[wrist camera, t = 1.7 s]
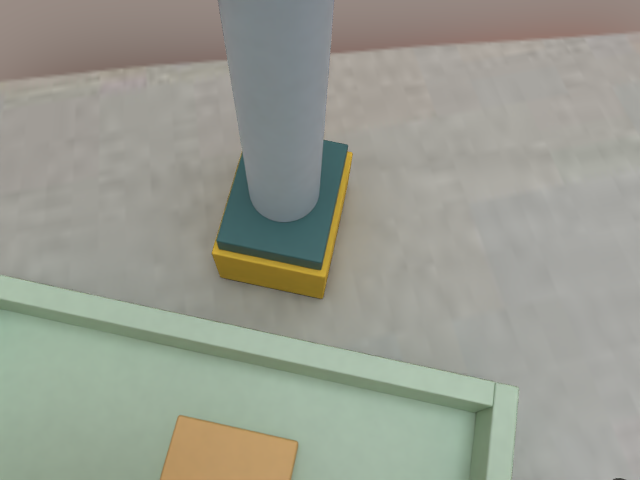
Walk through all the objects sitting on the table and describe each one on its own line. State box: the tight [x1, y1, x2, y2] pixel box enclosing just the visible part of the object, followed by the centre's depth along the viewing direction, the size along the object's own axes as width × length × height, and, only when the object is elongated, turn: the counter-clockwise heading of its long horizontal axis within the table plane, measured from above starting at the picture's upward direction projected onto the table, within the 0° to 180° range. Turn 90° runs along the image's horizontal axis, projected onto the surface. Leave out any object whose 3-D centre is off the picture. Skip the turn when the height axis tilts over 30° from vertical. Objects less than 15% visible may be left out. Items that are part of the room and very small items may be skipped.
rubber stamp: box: [212, 0, 353, 299], centre depth 18 cm, size 5×4×14 cm
